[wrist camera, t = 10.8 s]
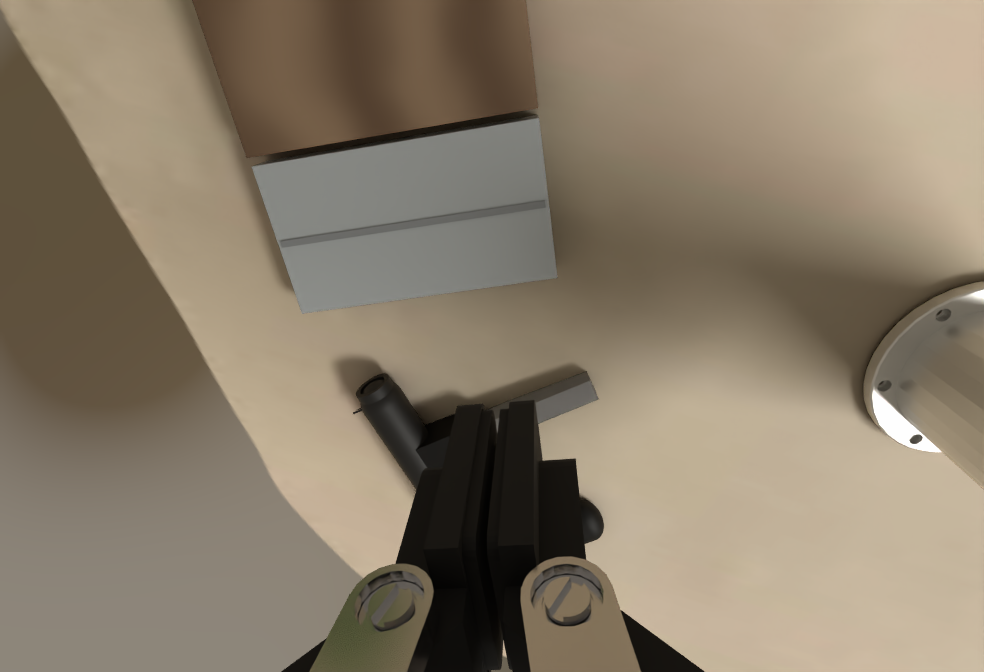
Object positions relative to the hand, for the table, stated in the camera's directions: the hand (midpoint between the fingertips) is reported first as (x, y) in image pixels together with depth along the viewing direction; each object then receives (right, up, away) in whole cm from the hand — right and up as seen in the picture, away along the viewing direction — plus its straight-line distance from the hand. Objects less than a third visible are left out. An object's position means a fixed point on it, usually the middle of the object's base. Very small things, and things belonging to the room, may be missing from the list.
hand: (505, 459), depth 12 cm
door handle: (+1, -6, +30) cm, 30 cm away
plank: (-7, +20, +16) cm, 27 cm away
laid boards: (-5, +10, +21) cm, 24 cm away
